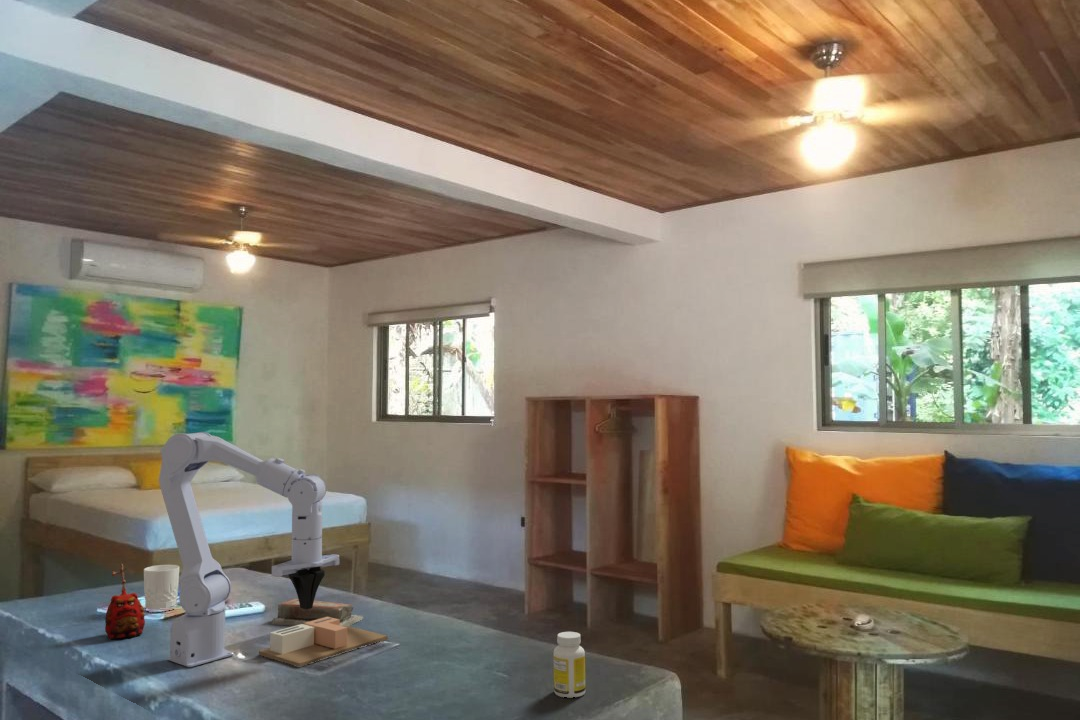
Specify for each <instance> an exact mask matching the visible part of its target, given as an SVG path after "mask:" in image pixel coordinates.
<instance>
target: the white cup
mask: <svg viewBox="0 0 1080 720" xmlns="http://www.w3.org/2000/svg"><path fill="white" fill-rule="evenodd" d="M180 569H181V568H180V565H178V564H159V565H151V566H148V567H145V568H143V588H144V590H143V591H144V600H145V601H144V605H145V607H146V608H148V609H160V608H166V607H170V606H173V605H175V604H176V603H177V602H178V601H177V598H178V595H179V594H178V593H179V585H180V584H179V578H180ZM176 605H177V604H176ZM145 607H144V608H145Z"/></svg>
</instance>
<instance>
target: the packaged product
mask: <svg viewBox="0 0 1080 720" xmlns="http://www.w3.org/2000/svg"><path fill="white" fill-rule="evenodd" d="M277 607H278V608H277V617H274V618H273V620H272V625H279V626H289V627H293V626H296V625H300V624H304V623H306V622H309V621H313V620H317V619H320V618H324V617H331V618H335V619H339V620H340V626H343V627H344V626H350V625H351V626H353V625H355V624H357V623H359V622H361V621H363V620H364V615H360V614H359V615H357V614H352V612H353V610H354V605H352V604H349V603H348V604H346V603H341V602H340V603H339V602H329V601H321V600H320V601H319V600H314V603H313V607H312V608H310V609H303V608H300V603H299V599H298V598H291V599H289V600H287V601H284V602H282V603H280V604H279V605H277ZM362 619H363V620H362ZM360 620H361V621H360ZM356 622H357V623H356ZM354 623H355V624H354ZM352 624H353V625H352ZM351 626H350V627H351Z"/></svg>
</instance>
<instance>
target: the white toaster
mask: <svg viewBox="0 0 1080 720" xmlns="http://www.w3.org/2000/svg"><path fill="white" fill-rule="evenodd" d="M269 633H270V634H269V635H270V636H269V648H270V651H274V652H277V653H280V654H284V653H288V652H291V651H295V650H298V649H301V648H305V647H308V646H311V645H314V627H312V626H308V625H304V624H300V625H296V626H289V627H285V628H282V629H278V630H274V631H271V632H269Z"/></svg>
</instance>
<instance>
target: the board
mask: <svg viewBox="0 0 1080 720" xmlns="http://www.w3.org/2000/svg"><path fill="white" fill-rule="evenodd" d="M344 627H347V645H346V646H343V647H340V648H336V649H334V648H330V647H327V646H323V645H319V644H316V643H314V645H311V646H308V647H305V648H301V649H298V650H295V651H291V652H288V653H284V654H280V653H277V652H274V651H270V647H268V648H265V649H261V650H258V656H260V655H261V656H260V657H263V656H264V657H265V658H267V657H268V658H267V659H270V658H271V659H270V660H273V659H275V660H274V661H276V660H280V661H283V662H286V663H289V664H293V665H296V666H303V665H306V664H309V663H311V662H315V661H318V660H320V659H323V658H326V657H329V656H333V655H336V654H339V653H342V652H345V651H349V650H352V649H355V648H359V647H361V646H365V645H369V644H372V643H375V642H379V641H382V642H384V640H385V641H388V637H389V636H388V635H387V634H386V635H385V634H383V633H378V632H375V631H374V632H373V631H369V630H366V629H362V628H357V627H353V626H344ZM379 643H380V642H379ZM369 646H370V645H369ZM283 662H282V663H283ZM286 663H285V664H286ZM289 664H288V665H289Z"/></svg>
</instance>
